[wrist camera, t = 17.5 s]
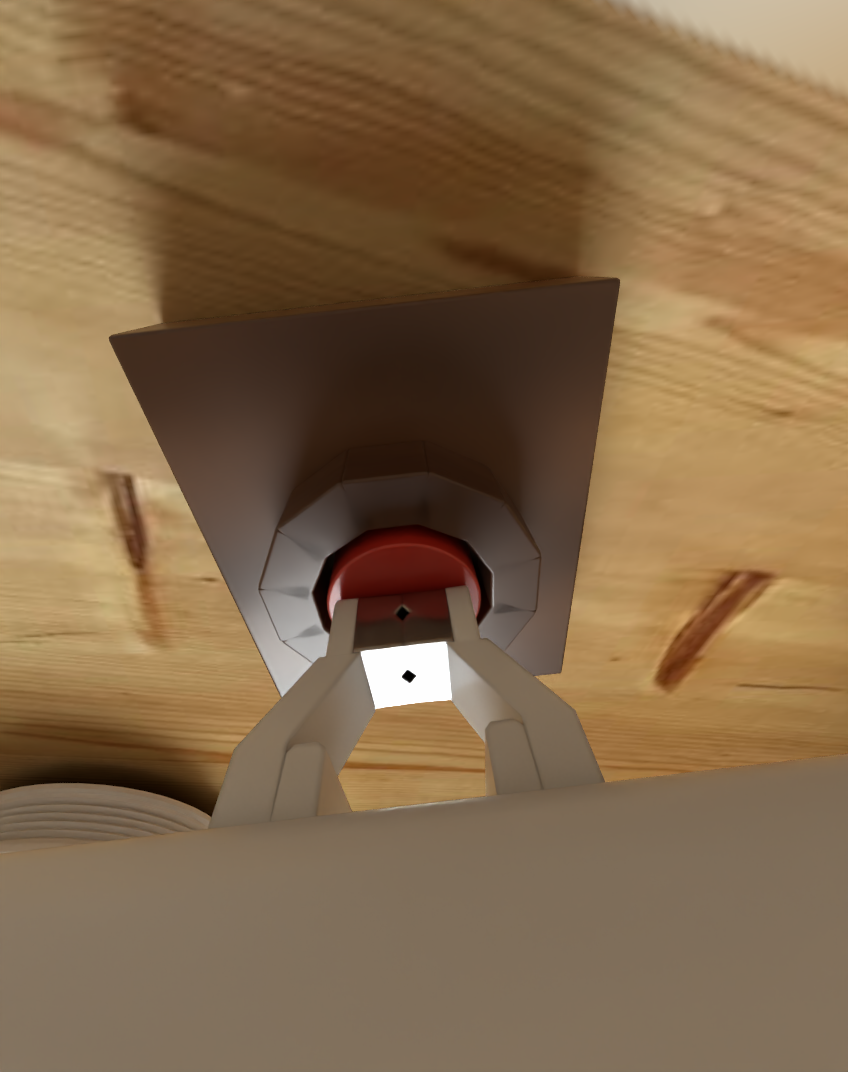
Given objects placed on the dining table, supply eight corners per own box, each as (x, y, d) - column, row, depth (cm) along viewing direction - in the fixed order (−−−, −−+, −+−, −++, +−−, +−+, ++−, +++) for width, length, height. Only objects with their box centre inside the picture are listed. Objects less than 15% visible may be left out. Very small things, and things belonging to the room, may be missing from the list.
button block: (159, 323, 10) (35, 351, 6) (578, 275, 10) (678, 279, 6) (296, 657, 16) (272, 757, 13) (542, 628, 16) (581, 720, 13)
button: (321, 512, 10) (308, 555, 8) (467, 495, 10) (480, 535, 8) (349, 618, 12) (343, 666, 10) (471, 603, 12) (482, 650, 10)
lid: (15, 863, 25) (-61, 985, 20) (-61, 752, 18) (-197, 897, 14) (234, 866, 27) (206, 975, 23) (238, 770, 20) (198, 897, 16)
